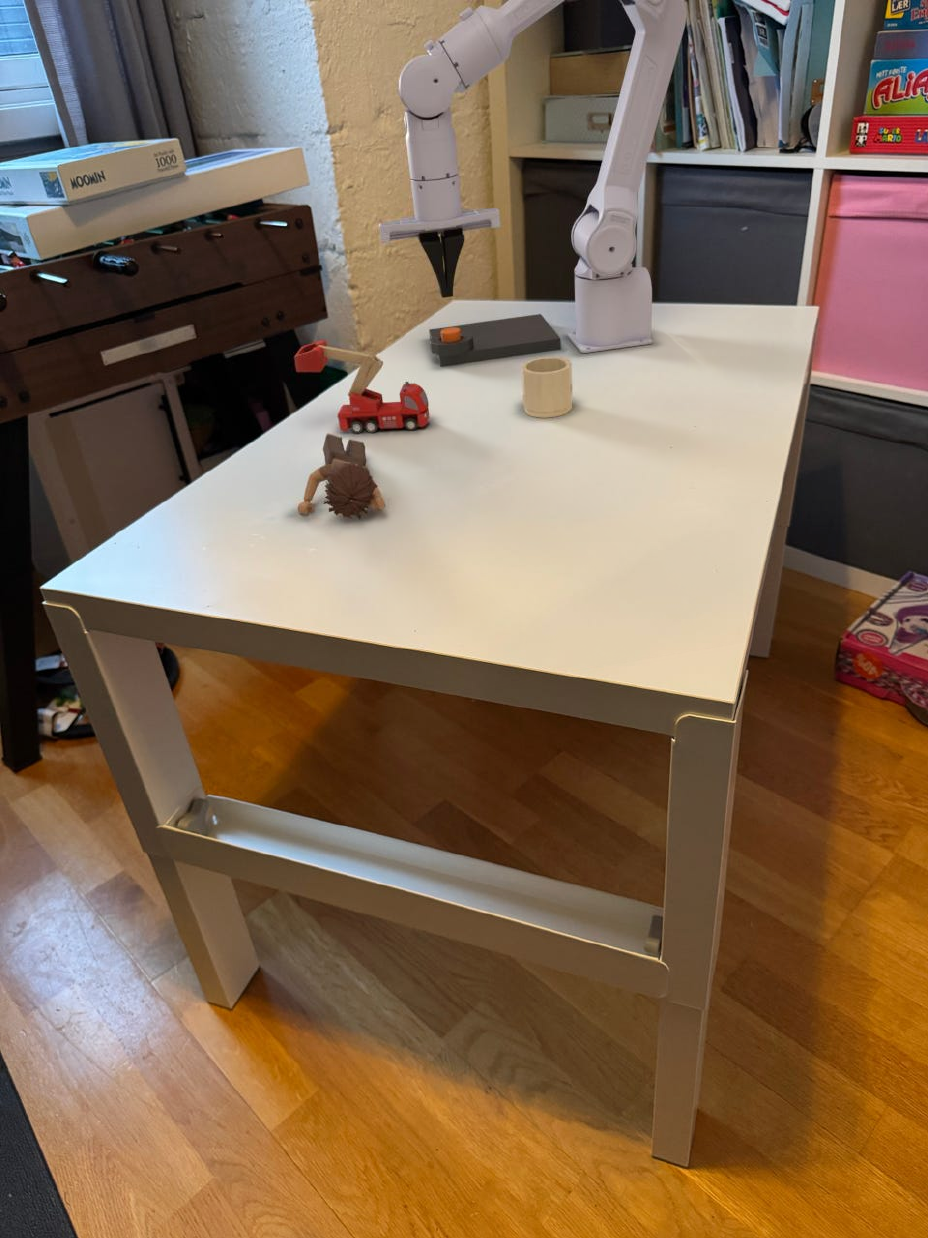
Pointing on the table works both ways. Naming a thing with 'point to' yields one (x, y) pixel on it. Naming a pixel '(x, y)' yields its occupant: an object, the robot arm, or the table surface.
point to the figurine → (343, 480)
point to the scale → (495, 340)
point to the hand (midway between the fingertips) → (446, 295)
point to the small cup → (547, 386)
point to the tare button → (450, 334)
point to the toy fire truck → (367, 392)
